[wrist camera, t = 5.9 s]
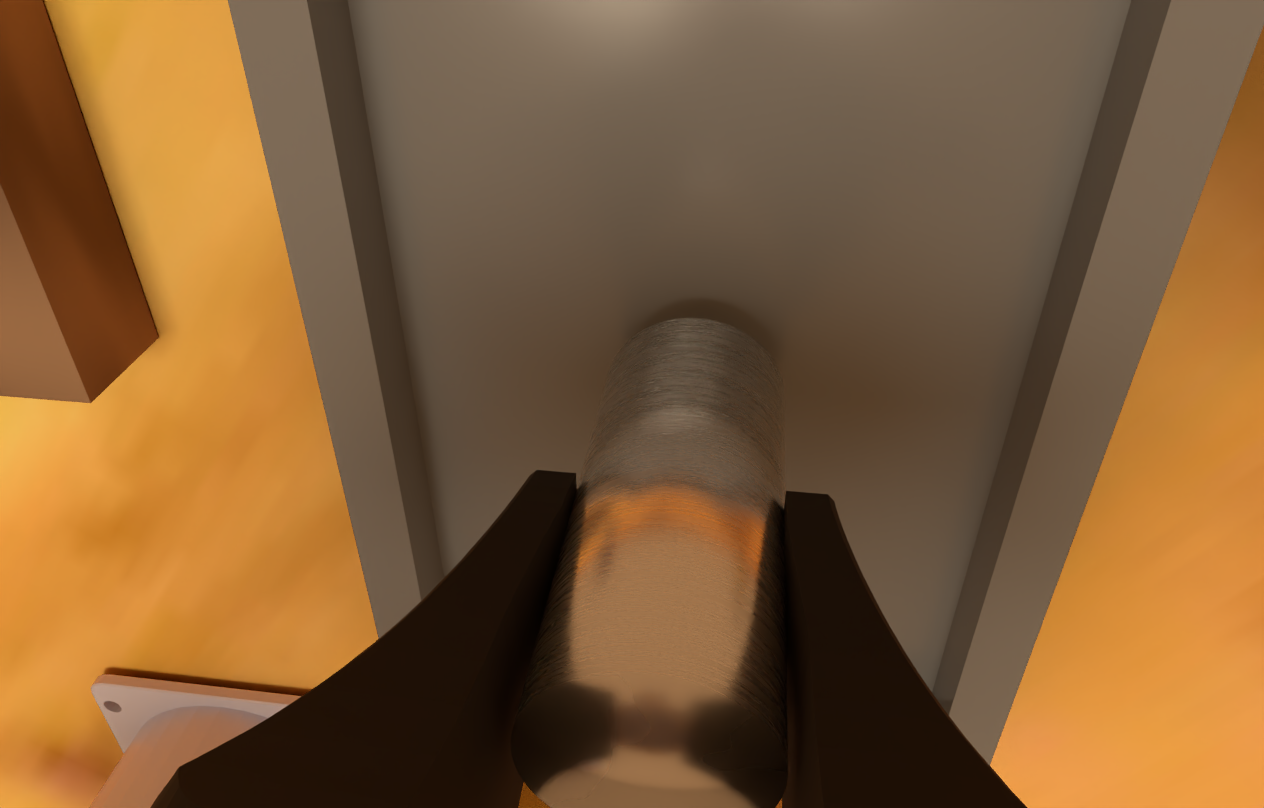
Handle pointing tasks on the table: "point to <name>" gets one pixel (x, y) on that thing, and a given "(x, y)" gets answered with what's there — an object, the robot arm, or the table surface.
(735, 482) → the pin
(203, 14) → the table surface
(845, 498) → the tray
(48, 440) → the table surface
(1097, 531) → the table surface
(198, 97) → the table surface
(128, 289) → the socket block
